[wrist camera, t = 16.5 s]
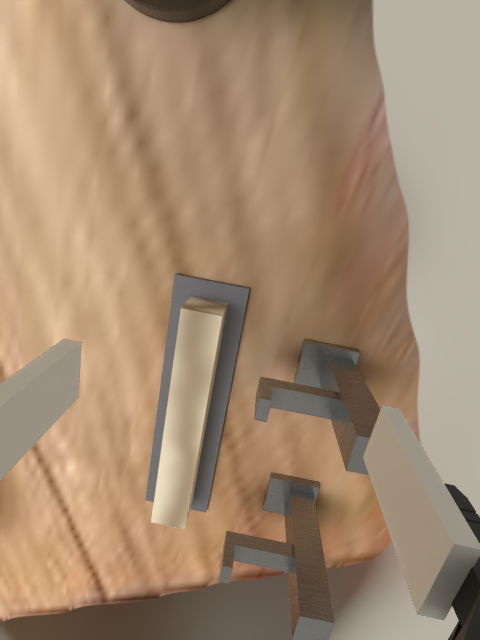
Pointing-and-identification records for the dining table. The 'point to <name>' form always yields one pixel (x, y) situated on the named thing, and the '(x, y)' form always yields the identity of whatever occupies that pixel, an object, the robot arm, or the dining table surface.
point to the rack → (300, 494)
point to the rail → (187, 408)
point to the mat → (222, 380)
